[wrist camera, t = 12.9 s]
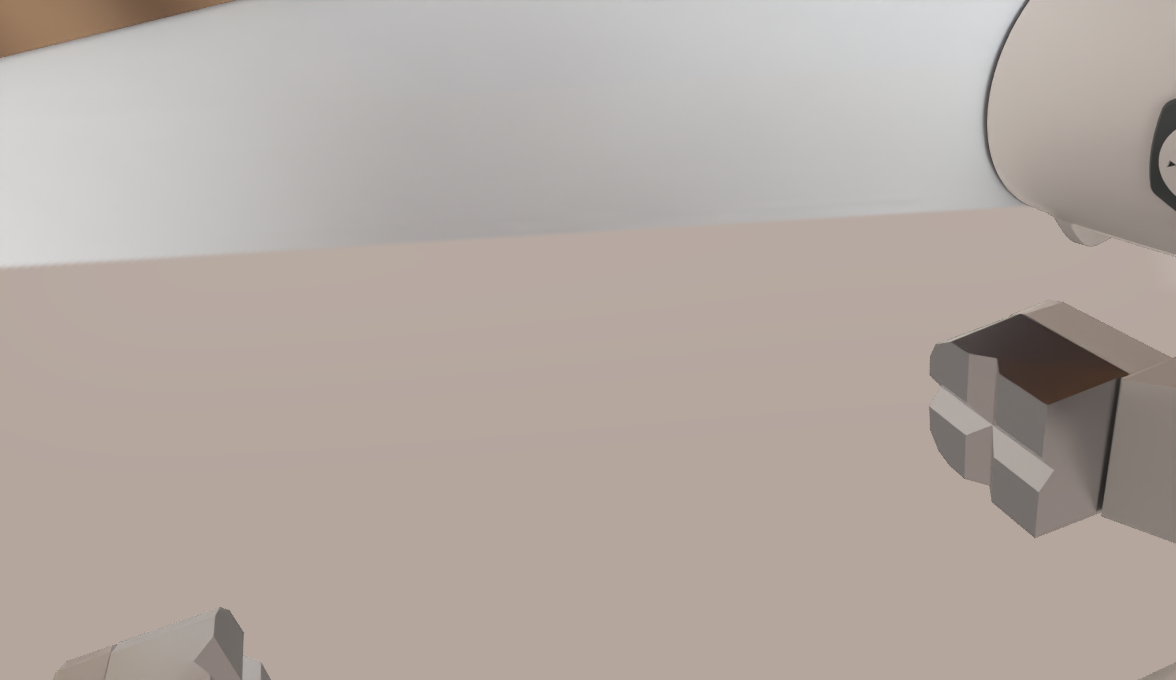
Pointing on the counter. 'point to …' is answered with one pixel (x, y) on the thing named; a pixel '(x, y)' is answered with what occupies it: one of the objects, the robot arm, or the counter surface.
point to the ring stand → (78, 19)
